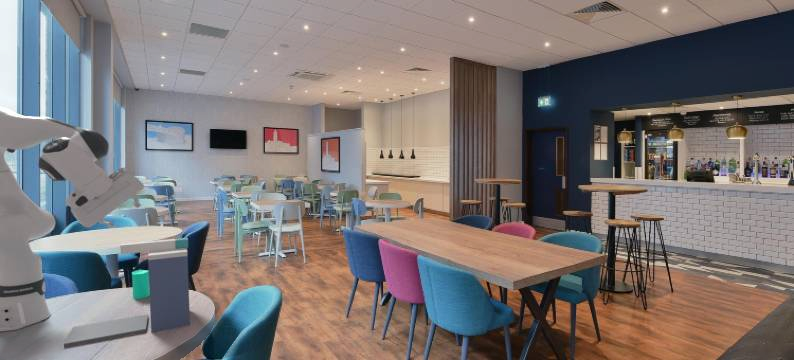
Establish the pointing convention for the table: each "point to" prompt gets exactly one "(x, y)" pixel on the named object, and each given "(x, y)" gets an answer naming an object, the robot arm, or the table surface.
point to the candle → (140, 284)
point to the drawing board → (106, 330)
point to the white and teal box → (154, 245)
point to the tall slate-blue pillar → (168, 289)
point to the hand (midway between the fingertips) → (126, 216)
